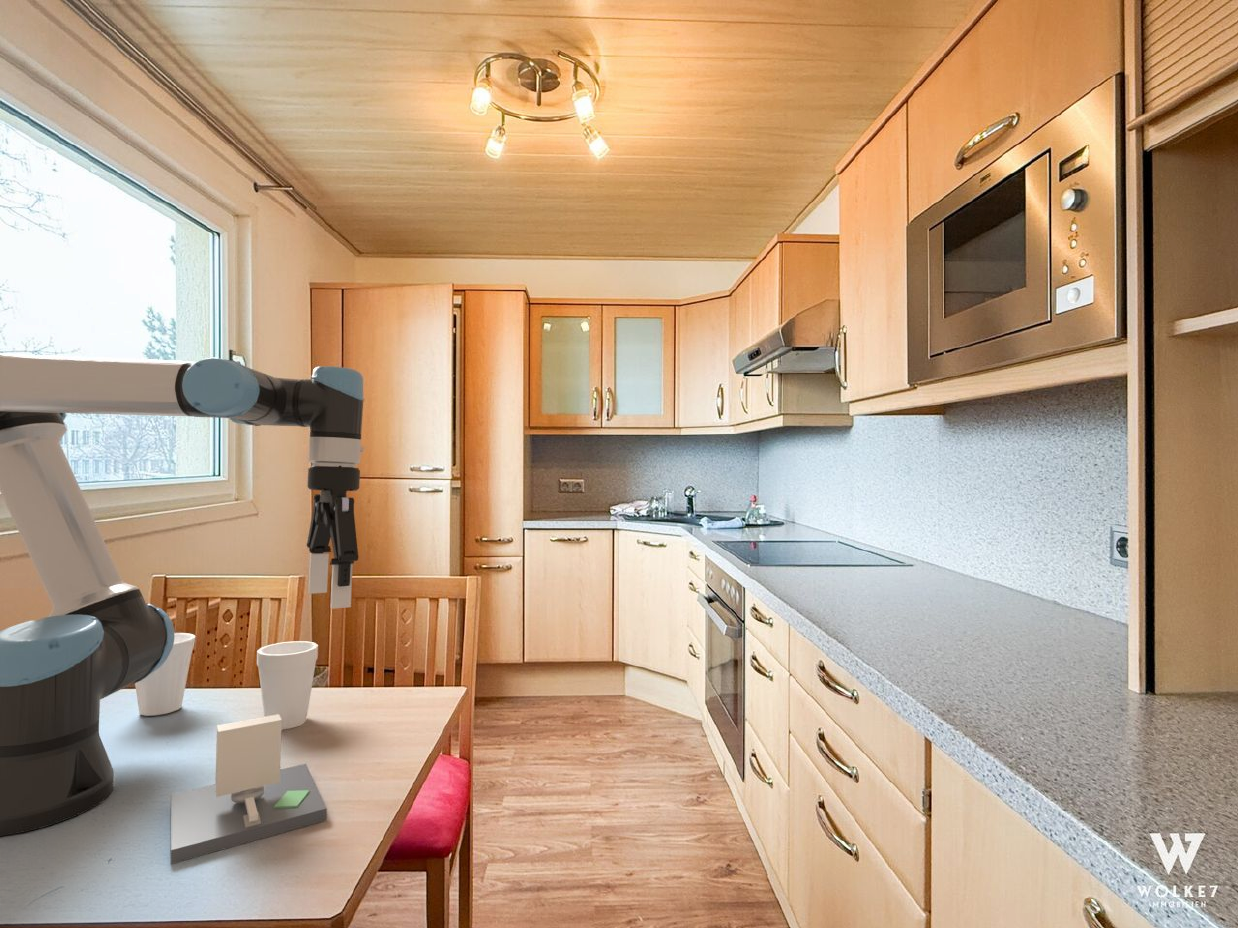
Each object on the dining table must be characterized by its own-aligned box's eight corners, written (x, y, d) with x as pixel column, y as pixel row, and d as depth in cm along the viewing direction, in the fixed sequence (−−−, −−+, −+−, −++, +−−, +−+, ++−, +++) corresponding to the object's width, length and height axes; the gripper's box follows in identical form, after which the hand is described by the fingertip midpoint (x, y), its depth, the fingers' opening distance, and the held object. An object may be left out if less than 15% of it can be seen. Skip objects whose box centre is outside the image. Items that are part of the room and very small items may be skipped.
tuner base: (170, 863, 70) (171, 848, 70) (170, 805, 83) (171, 792, 83) (326, 820, 80) (326, 806, 80) (305, 773, 92) (306, 762, 92)
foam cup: (290, 735, 105) (292, 657, 105) (242, 730, 107) (244, 653, 107) (327, 714, 114) (329, 642, 115) (282, 710, 116) (284, 639, 117)
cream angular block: (218, 835, 73) (221, 748, 73) (214, 802, 81) (216, 723, 81) (286, 817, 77) (288, 735, 77) (276, 787, 85) (278, 712, 85)
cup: (168, 722, 110) (170, 647, 110) (111, 721, 110) (113, 646, 110) (206, 702, 120) (208, 633, 120) (154, 701, 120) (156, 632, 120)
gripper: (385, 466, 93) (378, 611, 92) (337, 466, 112) (332, 585, 112) (330, 464, 88) (323, 617, 88) (291, 464, 108) (285, 589, 107)
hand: (328, 599), depth 100 cm, fingers open, 13 cm apart
